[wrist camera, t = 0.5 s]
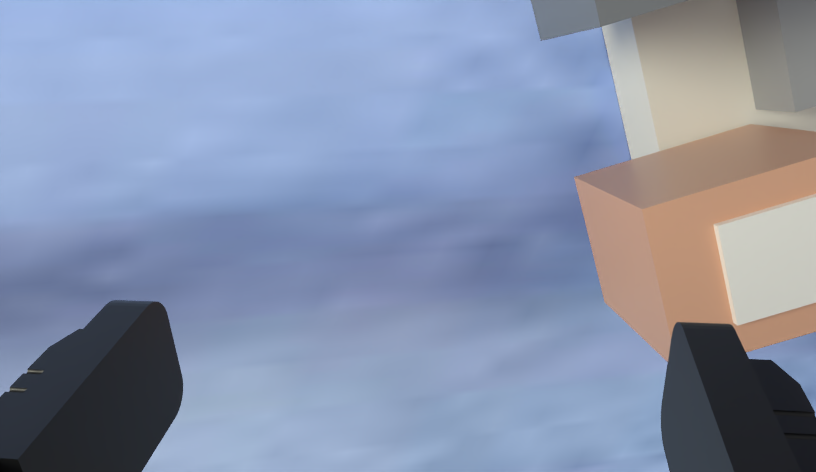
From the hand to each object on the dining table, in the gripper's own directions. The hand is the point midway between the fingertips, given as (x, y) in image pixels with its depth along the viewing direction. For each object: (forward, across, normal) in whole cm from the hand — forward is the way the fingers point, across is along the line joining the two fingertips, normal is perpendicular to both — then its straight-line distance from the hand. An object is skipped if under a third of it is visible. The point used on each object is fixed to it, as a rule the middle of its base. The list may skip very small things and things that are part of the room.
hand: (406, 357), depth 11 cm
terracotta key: (+21, -9, +7) cm, 24 cm away
